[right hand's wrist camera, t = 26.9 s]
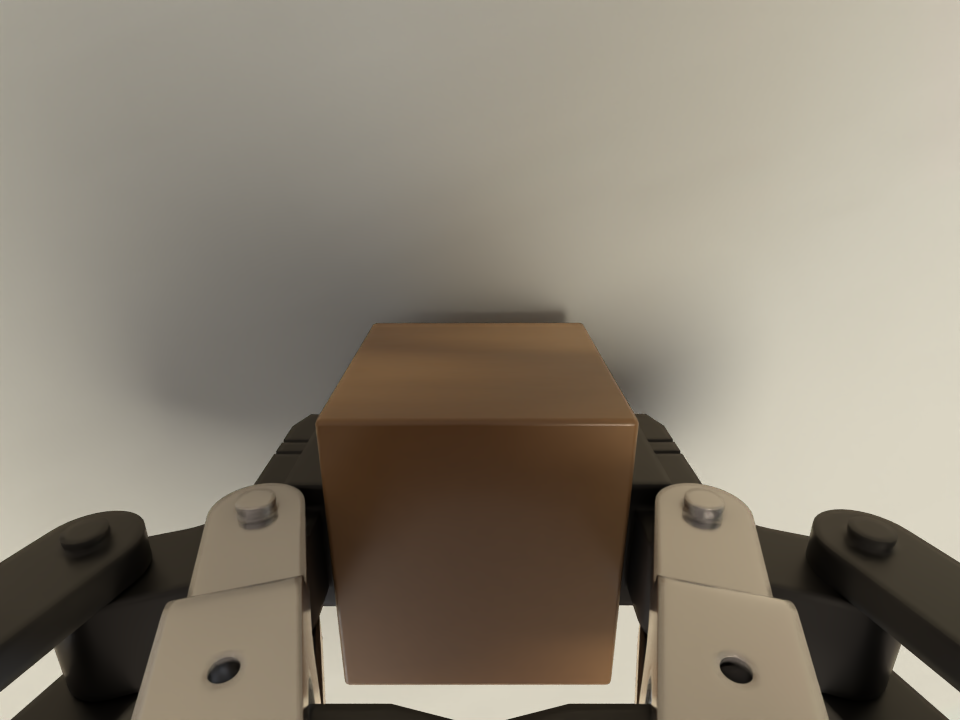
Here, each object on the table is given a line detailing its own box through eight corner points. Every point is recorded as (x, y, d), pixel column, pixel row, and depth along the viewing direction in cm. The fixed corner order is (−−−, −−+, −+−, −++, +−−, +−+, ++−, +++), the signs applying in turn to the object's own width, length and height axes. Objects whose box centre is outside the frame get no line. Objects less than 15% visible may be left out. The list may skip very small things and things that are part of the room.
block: (386, 517, 13) (344, 687, 9) (372, 322, 12) (312, 420, 7) (570, 517, 13) (612, 687, 9) (583, 322, 12) (641, 420, 7)
